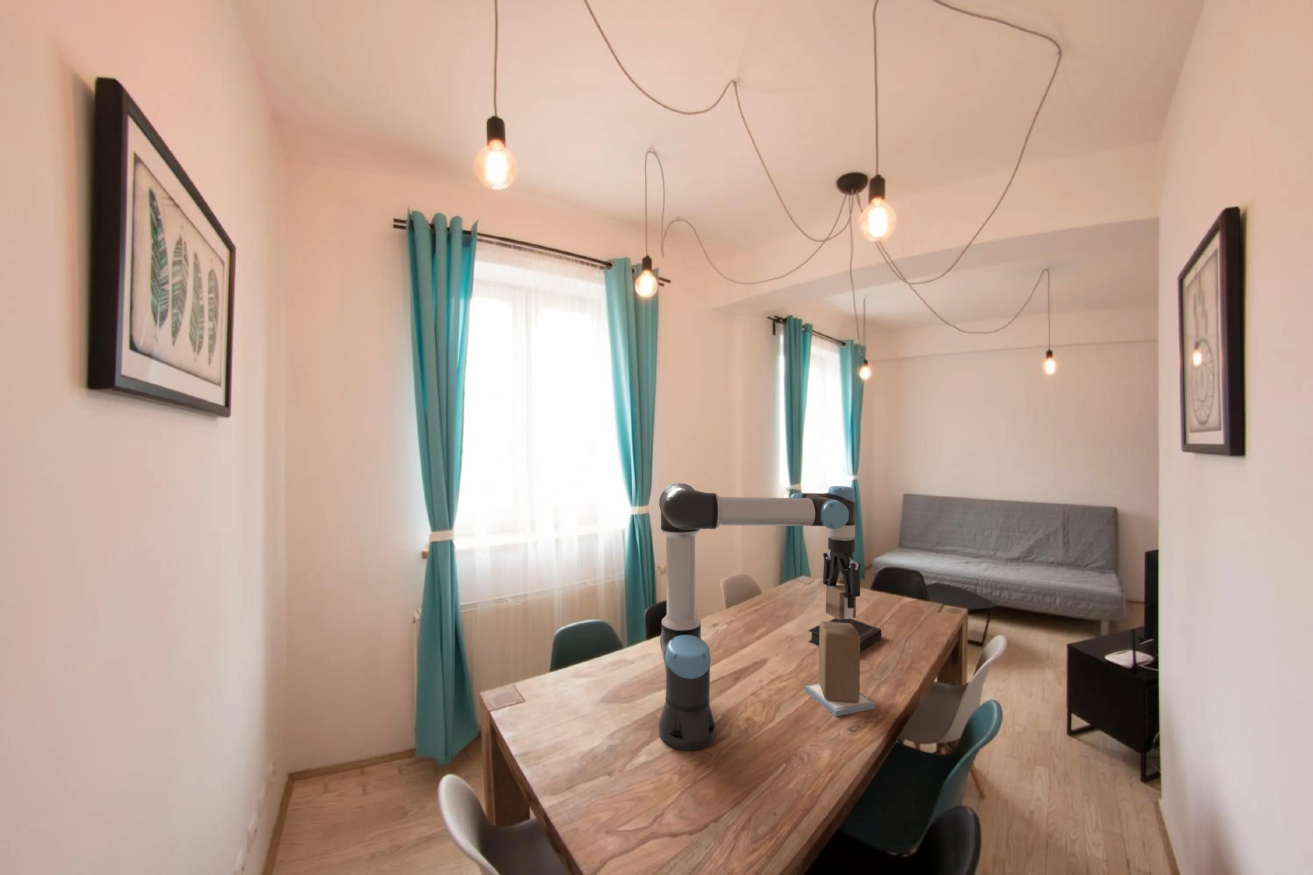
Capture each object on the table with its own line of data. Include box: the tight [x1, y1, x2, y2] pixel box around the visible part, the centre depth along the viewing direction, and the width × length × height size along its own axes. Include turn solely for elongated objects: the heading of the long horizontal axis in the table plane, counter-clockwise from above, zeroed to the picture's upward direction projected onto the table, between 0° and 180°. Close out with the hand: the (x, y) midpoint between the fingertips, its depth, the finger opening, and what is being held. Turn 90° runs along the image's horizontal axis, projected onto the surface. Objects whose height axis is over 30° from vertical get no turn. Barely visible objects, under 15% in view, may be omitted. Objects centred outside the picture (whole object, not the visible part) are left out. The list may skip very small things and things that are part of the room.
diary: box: [807, 617, 882, 653], centre depth 181 cm, size 19×25×5 cm
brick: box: [825, 584, 857, 620], centre depth 140 cm, size 6×6×8 cm
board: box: [804, 683, 876, 718], centre depth 140 cm, size 14×14×2 cm
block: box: [818, 620, 861, 703], centre depth 140 cm, size 10×10×20 cm
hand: (840, 613), depth 140 cm, fingers closed on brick, 6 cm apart
